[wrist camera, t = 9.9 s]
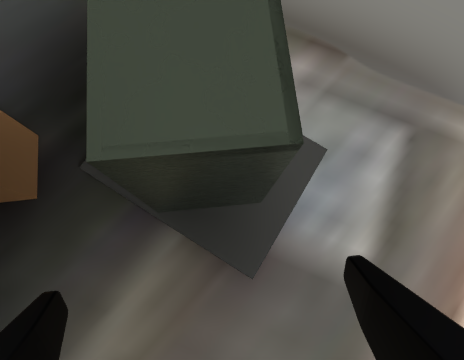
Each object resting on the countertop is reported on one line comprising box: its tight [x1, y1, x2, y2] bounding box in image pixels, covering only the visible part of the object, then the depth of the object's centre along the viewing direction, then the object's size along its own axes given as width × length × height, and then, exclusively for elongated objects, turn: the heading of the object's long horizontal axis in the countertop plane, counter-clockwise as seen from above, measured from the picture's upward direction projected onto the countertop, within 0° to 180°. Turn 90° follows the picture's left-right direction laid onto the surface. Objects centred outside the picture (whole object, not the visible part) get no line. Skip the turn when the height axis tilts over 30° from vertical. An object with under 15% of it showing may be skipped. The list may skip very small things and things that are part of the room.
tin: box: [86, 0, 304, 213], centre depth 14 cm, size 6×6×10 cm
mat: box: [79, 136, 327, 279], centre depth 19 cm, size 12×9×1 cm
